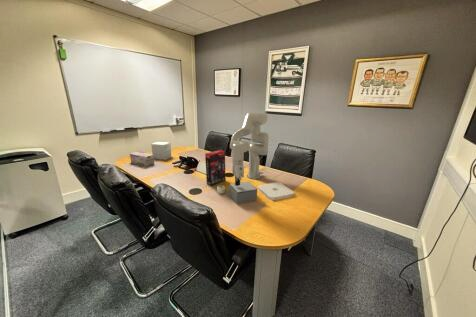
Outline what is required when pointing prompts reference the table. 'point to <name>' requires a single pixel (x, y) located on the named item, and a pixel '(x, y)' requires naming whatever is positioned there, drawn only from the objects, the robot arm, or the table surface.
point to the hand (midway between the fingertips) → (237, 185)
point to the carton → (242, 195)
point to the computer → (275, 191)
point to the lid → (243, 187)
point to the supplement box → (161, 150)
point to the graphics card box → (215, 167)
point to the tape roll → (221, 189)
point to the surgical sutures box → (142, 159)
